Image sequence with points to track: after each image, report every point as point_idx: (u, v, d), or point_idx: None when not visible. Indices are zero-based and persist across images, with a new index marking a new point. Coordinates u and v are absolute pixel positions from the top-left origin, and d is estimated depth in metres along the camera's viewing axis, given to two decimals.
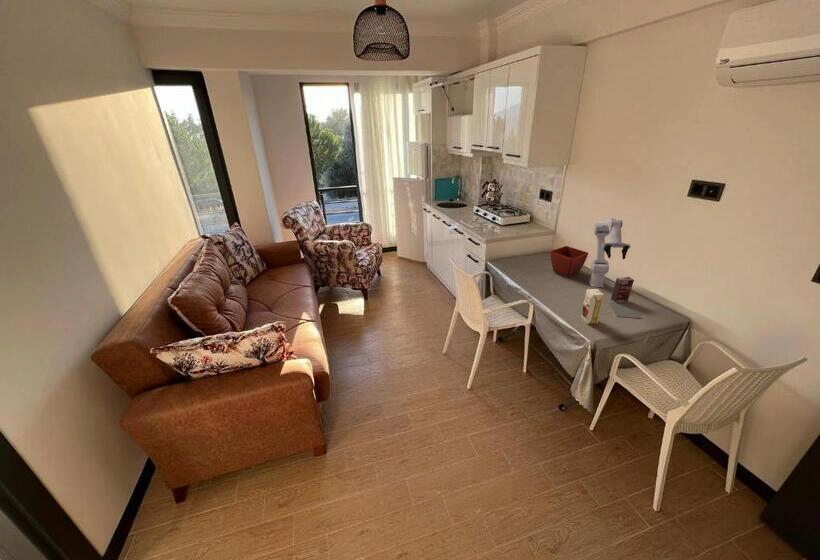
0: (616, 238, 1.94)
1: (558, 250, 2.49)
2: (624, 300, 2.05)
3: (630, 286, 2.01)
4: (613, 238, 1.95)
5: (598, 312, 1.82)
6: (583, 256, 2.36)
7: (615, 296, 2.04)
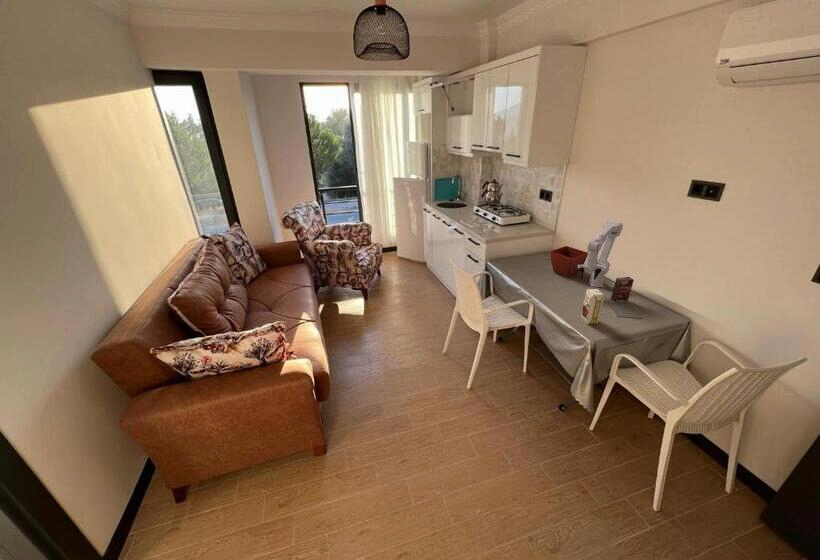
0: (591, 264, 2.08)
1: (558, 250, 2.49)
2: (624, 300, 2.05)
3: (630, 286, 2.01)
4: (588, 262, 2.08)
5: (598, 312, 1.82)
6: (583, 256, 2.36)
7: (615, 296, 2.04)
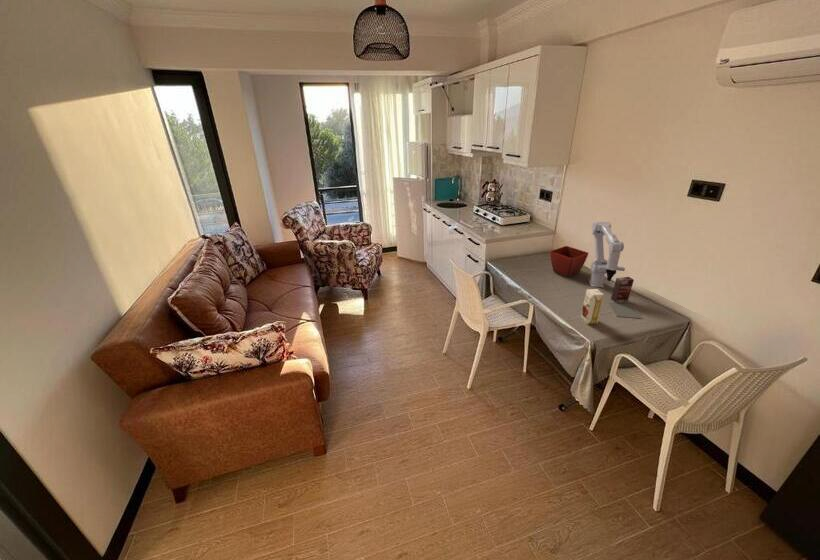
0: (612, 265, 2.05)
1: (558, 250, 2.49)
2: (624, 300, 2.05)
3: (630, 286, 2.01)
4: (609, 264, 2.05)
5: (598, 312, 1.82)
6: (583, 256, 2.36)
7: (615, 296, 2.04)
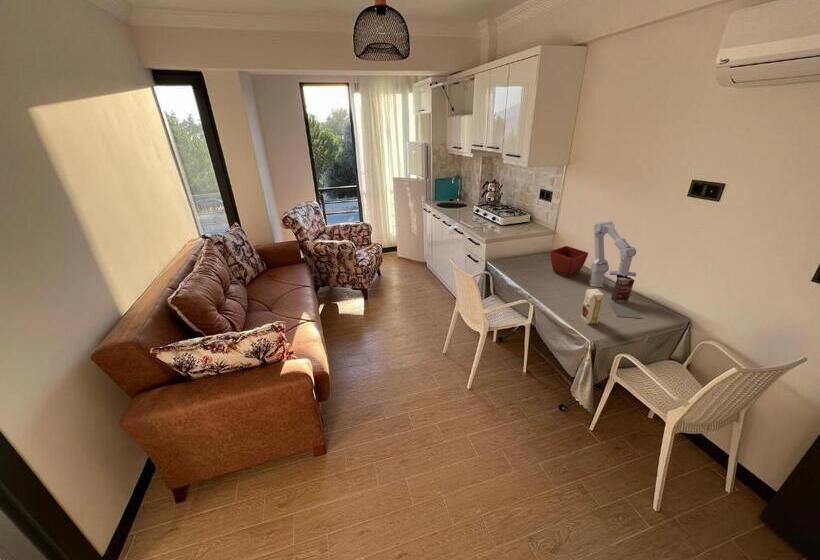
0: (624, 270, 2.01)
1: (558, 250, 2.49)
2: (624, 300, 2.05)
3: (630, 286, 2.00)
4: (621, 269, 2.02)
5: (598, 312, 1.82)
6: (583, 256, 2.36)
7: (615, 296, 2.04)
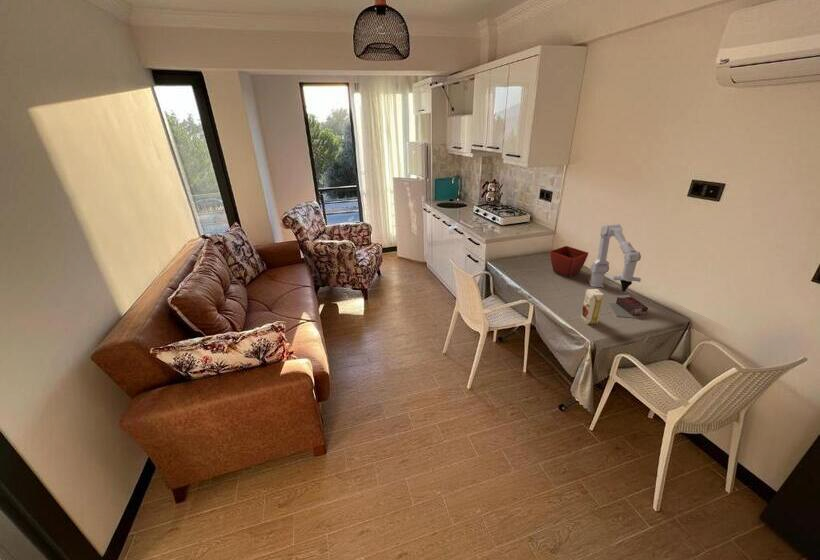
0: (628, 275, 1.95)
1: (558, 250, 2.49)
2: None
3: None
4: (625, 274, 1.96)
5: (598, 312, 1.82)
6: (583, 256, 2.36)
7: (620, 304, 2.01)
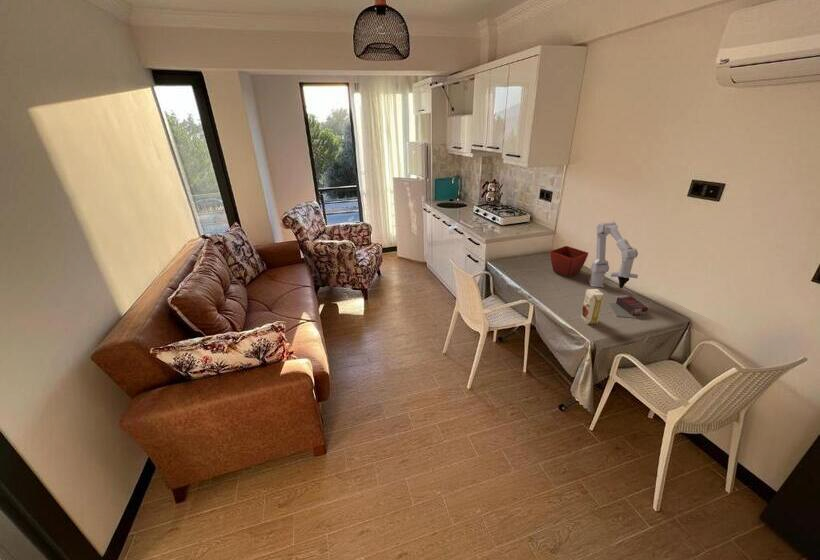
0: (625, 272, 1.99)
1: (558, 250, 2.49)
2: None
3: None
4: (622, 271, 2.00)
5: (598, 312, 1.82)
6: (583, 256, 2.36)
7: (620, 304, 2.01)
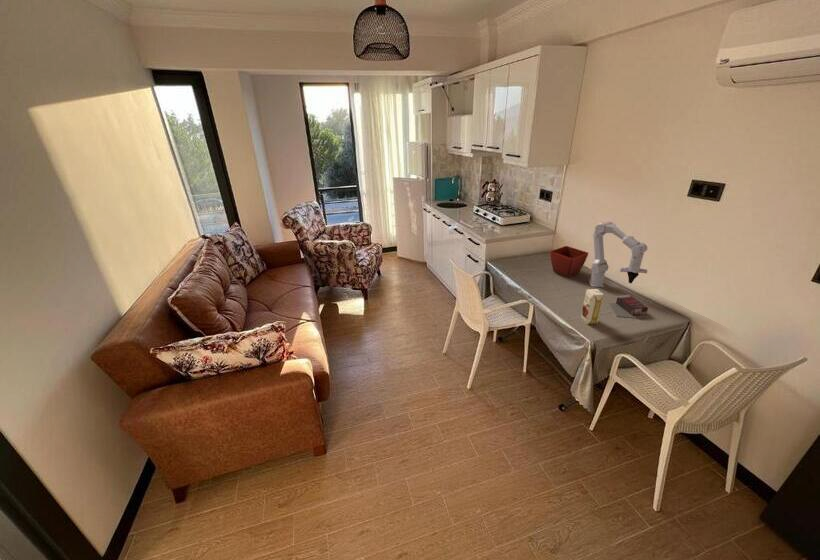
0: (635, 267, 2.00)
1: (558, 250, 2.49)
2: None
3: None
4: (632, 266, 2.01)
5: (598, 312, 1.82)
6: (583, 256, 2.36)
7: (620, 304, 2.01)
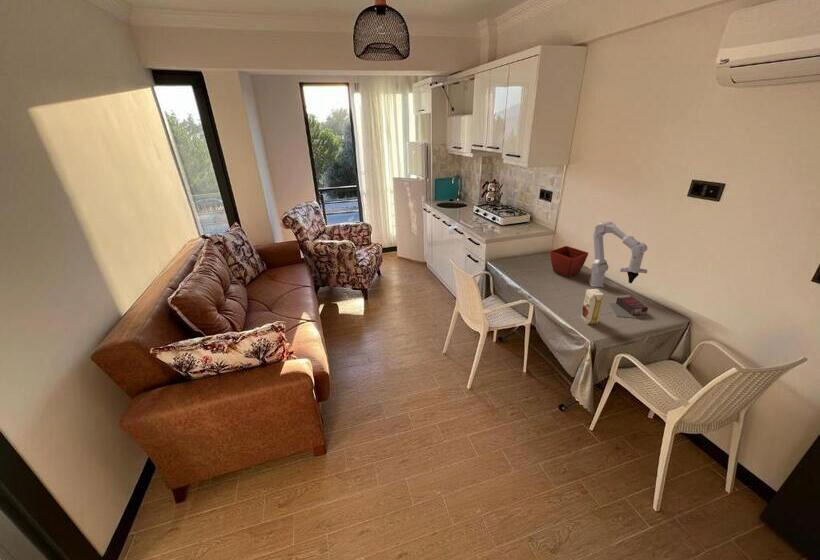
0: (635, 267, 2.00)
1: (558, 250, 2.49)
2: None
3: None
4: (632, 266, 2.01)
5: (598, 312, 1.82)
6: (583, 256, 2.36)
7: (620, 304, 2.01)
